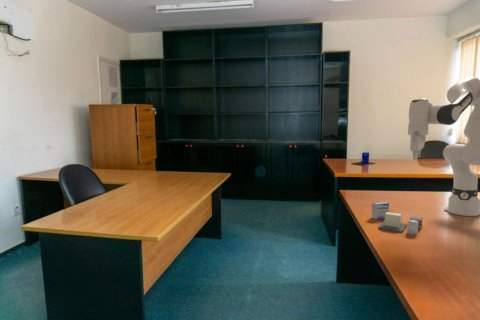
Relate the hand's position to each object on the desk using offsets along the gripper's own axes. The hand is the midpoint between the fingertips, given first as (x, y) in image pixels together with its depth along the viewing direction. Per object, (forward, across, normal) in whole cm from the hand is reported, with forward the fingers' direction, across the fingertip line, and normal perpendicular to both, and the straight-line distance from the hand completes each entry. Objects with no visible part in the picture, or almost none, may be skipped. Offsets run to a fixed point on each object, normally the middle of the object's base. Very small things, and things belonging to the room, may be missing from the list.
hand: (416, 158), depth 164 cm
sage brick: (+33, -11, +8) cm, 36 cm away
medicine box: (+34, +2, +17) cm, 38 cm away
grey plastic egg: (+34, -15, -2) cm, 37 cm away
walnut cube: (+34, -5, -2) cm, 35 cm away
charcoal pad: (+34, -11, +8) cm, 37 cm away
